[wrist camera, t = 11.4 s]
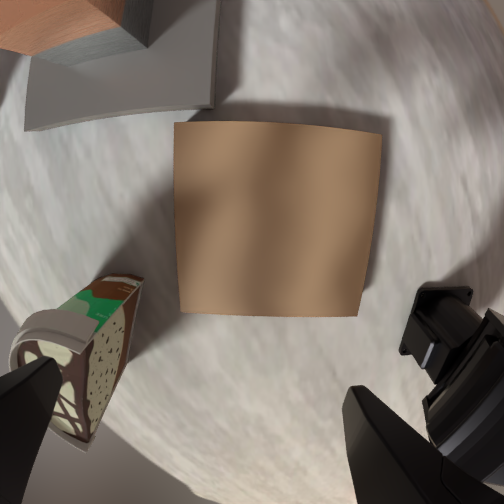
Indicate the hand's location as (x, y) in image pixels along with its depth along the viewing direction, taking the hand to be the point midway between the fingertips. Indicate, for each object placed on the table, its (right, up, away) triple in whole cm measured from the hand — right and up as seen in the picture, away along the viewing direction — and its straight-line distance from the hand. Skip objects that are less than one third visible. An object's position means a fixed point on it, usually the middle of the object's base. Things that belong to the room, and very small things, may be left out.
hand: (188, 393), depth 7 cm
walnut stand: (+3, +6, +12) cm, 13 cm away
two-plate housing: (-7, +19, +5) cm, 21 cm away
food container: (-11, -1, +15) cm, 18 cm away
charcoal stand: (-7, +20, +7) cm, 22 cm away
